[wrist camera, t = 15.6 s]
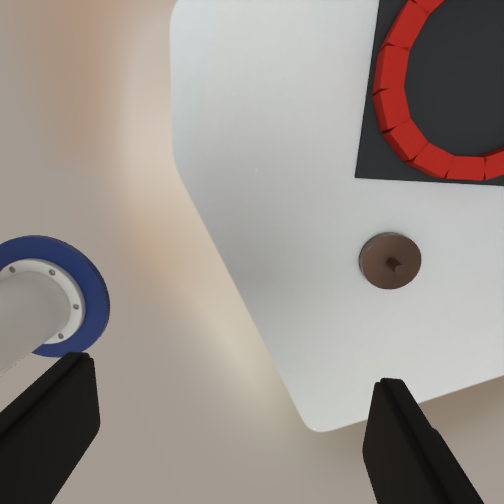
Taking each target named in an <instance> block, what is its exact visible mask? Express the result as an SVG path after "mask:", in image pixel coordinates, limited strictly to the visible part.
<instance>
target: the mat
mask: <svg viewBox="0 0 504 504" xmlns="http://www.w3.org/2000/svg"><path fill="white" fill-rule="evenodd" d="M407 1H408V0H380V2H379V9H378V17H377V24H376V31H375V38H374V45H373V52H372V59H371V66H370V74H369V81H368V88H367V95H366V102H365V109H364V116H363V123H362V131H361V138H360V145H359V152H358V159H357V166H356V173H355V178H367V179H386V180H404V181H423V182H441V183H459V184H478V185H496V186H504V174H503V175H500V176H497V177H494V178H491V179H488V180H462V179H442V178H436V177H431V176H429V175H427V174H425V173H423V172H421V171H419V170H417V169H415V168H413V167H411V166H409V165H407V164H405V163H404V162H405V160H404V161H401V159H400V158H399V157H398V155H397V154H396V153H395V152H394V150H393V149H392V148H391V146H390V145H389V144H388V142H387V141H386V140H385V138H384V137H383V136H382V134H383V133H384V132H386V131H387V130H385V131H382V132H380V128H379V124H378V119H377V115H376V111H375V107H374V102H373V97H374V96H375V95H376V94H372V91H373V84H374V77H375V70H376V63H377V56H378V54H379V53H380V52H381V51H379V49H380V48H381V46H382V44H383V42H384V40H385V38H386V36H387V34H388V32H389V30H390V28H391V26H392V24H393V22H394V20H395V19H396V17H397V15H398V13H399V11H400V10H401V9H402V7H403V6H404V5H405V4H406V2H407ZM404 90H405V95H406V100H407V105H408V109H409V114H410V118H411V120H412V121H413V122H414V124H415V125H416V126H417V128H418V129H419V130H420V132H421V133H422V134H423V136H424V137H425V139H426V140H427V141H428V142H429V143H431V144H432V145H434V146H436V147H438V148H440V149H442V150H444V151H446V152H448V153H450V154H452V155H454V156H470V157H476V156H479V155H482V154H485V153H488V152H491V151H494V150H497V149H500V148H502V147H503V146H504V0H445V1H444V2H443V3H442V4H441V5H440V6H438V7H437V8H436V9H435V10H434V11H433V12H432V13H431V14H430V15H429V16H428V17H427V19H426V21H425V23H424V25H423V26H422V28H421V30H420V32H419V34H418V36H417V37H416V39H415V41H414V43H413V45H412V47H411V48H410V51H409V57H408V63H407V69H406V75H405V81H404Z"/></svg>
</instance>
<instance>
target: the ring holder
mask: <svg viewBox="0 0 504 504" xmlns="http://www.w3.org/2000/svg"><path fill="white" fill-rule="evenodd" d="M359 265H360V269H361V272H362V273H363V275H364V276H365V277H366V279H367V280H368V281H369V282H370V283H371V284H373V285H374V286H376V287H378V288H382V289H397V288H400V287H403V286H405V285H406V284H408V283H409V282H411V281H412V280H413V279H414V278H415V276H416V275H417V273H418V271H419V269H420V266H421V253H420V250H419V248H418V247H417V245H416V244H415V243H414V242H413V241H412V240H410V239H409V238H407V237H405V236H403V235H400V234H397V233H383V234H380V235H377V236H375V237H373V238H372V239H370V240H369V241H368V242H367V243H366V244H365V246H364V247H363V249H362V251H361V253H360V257H359Z"/></svg>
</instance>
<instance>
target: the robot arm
mask: <svg viewBox="0 0 504 504" xmlns="http://www.w3.org/2000/svg"><path fill="white" fill-rule="evenodd" d="M85 312H86V306H85V299H84V296H83V293H82V291H81V289H80V287H79V285H78V284H77V282H76V281H75V279H74V278H73V277H72V276H71V275H70V274H69V273H68V272H67V271H65V270H64V269H63V268H62V267H60V266H58V265H56V264H54V263H53V262H50V261H47V260H44V259H38V258H27V259H22V260H18V261H16V262H13V263H11V264H9V265H8V266H6V267H4V268H3V269H2V271H1V272H0V376H1V375H3V374H4V373H5V372H6V371H8V370H9V369H10V368H12V367H13V366H14V365H16V364H17V363H18V362H19V361H21V360H22V359H24V358H25V357H26V356H27V355H29V354H30V353H31V352H33V351H34V350H35V349H37V348H38V347H39V346H41V345H42V344H53V343H59V342H61V341H64V340H66V339H68V338H69V337H70V336H72V335H73V334H74V333H75V332H76V331H77V330H78V329H79V328H80V326H81V325H82V323H83V320H84V318H85ZM96 386H97V385H96V377H95V367H94V360H93V358H90V356H89V354H88V353H83V352H72V351H71V352H68V353H66V354H65V355H64V356H63V357H62V358H61V359H60V360H58V361H57V362H56V363H55V364H54V365H53V366H52V367H51V368H49V369H48V370H47V371H46V372H45V373H44V374H43V375H42V376H40V377H39V378H38V379H37V380H36V381H35V382H34V383H33V384H32V385H30V386H29V387H28V388H27V389H26V390H25V391H24V392H23V393H21V394H20V395H19V396H18V397H17V398H16V399H15V400H14V401H13V402H11V403H10V405H8V406H7V407H6V408H5V409H4V410H3V411H2V412H0V504H51V503H52V502H53V500H54V499H55V497H56V495H57V494H58V492H59V491H60V489H61V488H62V486H63V485H64V483H65V482H66V480H67V478H68V477H69V476H70V474H71V473H72V471H73V470H74V468H75V467H76V465H77V464H78V462H79V461H80V459H81V458H82V456H83V455H84V453H85V451H86V450H87V448H88V447H89V445H90V444H91V442H92V441H93V439H94V438H95V436H96V435H97V433H98V430H99V427H100V414H99V406H98V405H99V404H98V395H97V387H96ZM363 458H364V462H365V465H366V469H367V472H368V475H369V478H370V481H371V484H372V487H373V491H374V494H375V497H376V500H377V503H378V504H484V503H483V501H482V499H481V498H480V496H479V495H478V493H477V491H476V490H475V488H474V487H473V485H472V484H471V482H470V480H469V479H468V477H467V476H466V474H465V473H464V471H463V469H462V468H461V467H460V465H459V463H458V462H457V460H456V458H455V457H454V455H453V454H452V452H451V451H450V449H449V448H448V446H447V444H446V443H445V441H444V440H443V438H442V436H441V435H440V434H439V432H438V431H437V430H436V429H434V428H432V427H431V425H430V424H429V422H428V420H427V419H426V417H425V415H424V414H423V412H422V411H421V409H420V407H419V406H418V404H417V403H416V401H415V399H414V398H413V396H412V394H411V393H410V391H409V390H408V388H407V386H406V385H405V383H404V382H403V381H402V380H401V379H392V378H382V379H381V380H380V382H376V383H375V386H374V391H373V396H372V401H371V406H370V411H369V417H368V422H367V427H366V432H365V437H364V442H363Z"/></svg>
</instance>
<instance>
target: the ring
mask: <svg viewBox="0 0 504 504" xmlns="http://www.w3.org/2000/svg"><path fill="white" fill-rule="evenodd" d="M444 1H445V0H408V1H407V2H406V4H405V5H404V6H403V7H402V9H401V10H400V11H399V13H398V15H397V17H396V19H395V20H394V22H393V24H392V26H391V28H390V30H389V32H388V34H387V36H386V38H385V40H384V42H383V44H382V46H381V48H380V49H379V51H381V52H380V53H379V54H378V56H377V63H376V70H375V77H374V84H373V91H372V94H376V95H375V96H374V97H373V102H374V107H375V111H376V115H377V119H378V124H379V128H380V132H382V131H385V130H387V131H386V132H384V133H383V134H382V136H383V137H384V138H385V140H386V141H387V142H388V144H389V145H390V146H391V148H392V149H393V150H394V152H395V153H396V154H397V155H398V157H399V158H400V159H401V161H404V160H405V162H404V163H405V164H407V165H409V166H411V167H413V168H415V169H417V170H419V171H421V172H423V173H425V174H427V175H429V176H431V177H436V178H442V179H462V180H488V179H491V178H494V177H497V176H500V175H503V174H504V146H503V147H502V148H500V149H497V150H494V151H491V152H488V153H485V154H482V155H479V156H476V157H470V156H454V155H452V154H450V153H448V152H446V151H444V150H442V149H440V148H438V147H436V146H434V145H432V144H431V143H429V142H428V141H427V140H426V139H425V137H424V136H423V134H422V133H421V132H420V130H419V129H418V128H417V126H416V125H415V124H414V122H413V121H412V120H411V118H410V114H409V109H408V105H407V100H406V95H405V90H404V81H405V75H406V69H407V63H408V57H409V51H410V48H411V47H412V45H413V43H414V41H415V39H416V37H417V36H418V34H419V32H420V30H421V28H422V26H423V25H424V23H425V21H426V19H427V17H428V16H429V15H430V14H431V13H432V12H433V11H434V10H435V9H436V8H437V7H438V6H440V5H441V4H442V3H443V2H444Z"/></svg>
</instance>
